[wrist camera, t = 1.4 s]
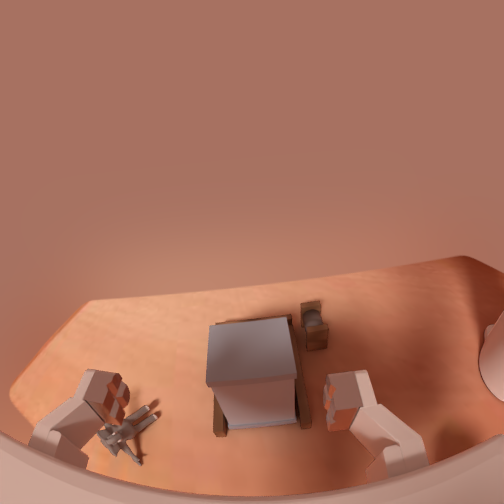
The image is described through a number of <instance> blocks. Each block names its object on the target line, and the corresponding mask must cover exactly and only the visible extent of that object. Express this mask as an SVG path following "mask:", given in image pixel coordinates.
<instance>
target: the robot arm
mask: <svg viewBox="0 0 504 504" xmlns="http://www.w3.org/2000/svg"><path fill="white" fill-rule="evenodd" d="M484 337H485V342H484V345H483V347H482V349H481V352H480V357H479V366H480V371H481V375H482V378H483V380H484V382H485V384H486V386H487V387H488V388H489V390H490V391H491V392H492V393H493V394H494V395H495V396H496V397H497V398H499V399H500V400H502V401H504V310H503V312H502V314H501V315H500V317H499V319H498V320H497V322H496V323H495V324H492V325H488V326H487V328H486V329H485V332H484ZM129 399H130V392H129V388H128V386H127V385H126V384H125V383H123V382H122V377H121V376H120V374H119V373H112V372H105V371H99V370H94V369H87V370H86V371H85V372H84V375H83V377H82V379H81V381H80V383H79V386H78V388H77V390H76V392H75V395H74V397H73V398H72V397H70V398H69V399H68V400H66V401H65V402H64V403H62V404H61V405H60V406H59V407H57V408H56V409H55V410H53V411H52V412H51V413H49V414H48V415H47V416H45V417H44V418H43V419H41V420H40V421H39V422H38V423H37V424H36V427H35V429H34V431H33V434H32V436H31V439H30V441H29V444H28V445H26V444H24V443H22V442H20V441H18V440H16V439H14V438H13V437H11V436H9V435H7V434H5V433H3V432H2V431H0V504H504V435H503V434H498V435H495V436H493V437H491V438H489V439H487V440H485V441H483V442H481V443H479V444H477V445H475V446H473V447H471V448H469V449H467V450H465V451H463V452H461V453H458V454H456V455H454V456H451V457H449V458H447V459H444V460H442V461H439V462H437V463H434V464H431V465H430V464H429V461H428V457H427V454H426V450H425V447H424V444H423V441H422V437H421V436H420V435H419V434H417V433H416V432H415V431H414V430H412V429H411V428H410V427H409V426H408V425H406V424H405V423H404V422H403V421H401V420H400V419H399V418H398V417H397V416H395V415H394V414H393V413H392V412H390V411H389V410H388V409H387V408H386V407H384V406H383V405H382V404H377V401H376V397H375V394H374V391H373V387H372V384H371V381H370V378H369V375H368V372H367V371H366V370H365V369H364V370H358V371H349V372H342V373H335V374H328V375H327V376H326V385H325V386H324V389H323V403H324V408H325V409H326V410H327V411H328V412H327V415H326V421H327V428H328V432H330V431H339V430H346V429H349V430H350V432H351V433H352V434H353V435H354V436H355V437H356V438H357V439H358V440H359V441H360V442H361V444H362V445H363V446H364V447H365V448H366V449H367V450H368V451H369V452H370V453H371V454H372V455H373V456H374V458H375V460H374V461H373V462H372V463H371V464H370V465H369V466H368V468H367V469H366V470H365V472H366V478H367V484H363V485H359V486H354V487H348V488H343V489H337V490H331V491H324V492H316V493H308V494H297V495H284V496H220V495H206V494H196V493H187V492H179V491H173V490H166V489H160V488H155V487H150V486H145V485H140V484H136V483H131V482H127V481H123V480H119V479H116V478H112V477H108V476H105V475H102V474H98V473H95V472H92V471H89V470H86V467H87V463H88V459H89V457H88V455H86V454H85V453H84V452H83V451H81V450H80V449H81V448H82V447H83V446H84V445H85V444H86V443H87V442H88V441H89V440H90V439H91V438H92V437H93V436H94V435H95V434H96V433H97V432H98V431H99V430H100V429H101V428H102V427H103V426H104V424H105V423H109V424H114V425H120V426H122V423H123V419H124V416H125V411H124V408H125V407H126V406H127V405H128V403H129Z"/></svg>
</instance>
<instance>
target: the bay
mask: <svg viewBox="0 0 504 504" xmlns="http://www.w3.org/2000/svg"><path fill="white" fill-rule="evenodd" d="M320 314H321V304H320V301H314V302H308V303H301V326H302V327H305V330H306V348H307V351H312V350H318V349H323V348H327V341H328V331H329V328H328V325H327V324H323V322H322V319H321V315H320ZM282 317H286V318H287V323H288V328H289V334H290V339H291V344H292V350H293V355H294V360H295V366H296V371H297V379H294V385H295V393H296V399H297V405H298V412H299V418H300V424H301V429H306V428H311V423H312V421H311V416H310V410H309V405H308V400H307V394H306V389H305V384H304V379H303V374H302V369H301V364H300V359H299V354H298V349H297V344H296V339H295V334H294V329H293V325H292V316H291V314H288V315H281V316H273V317H266V318H257V319H249V320H240V321H231V322H221V323H216V325H222V324H232V323H241V322H250V321H258V320H266V319H274V318H282ZM213 432H214V434H215V435H216V437H226V417H225V415H224V413H223V411H222V409H221V407H220V405H219V403H218V401H217V399H216V396H215V394H214V418H213Z"/></svg>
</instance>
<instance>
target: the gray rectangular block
mask: <svg viewBox="0 0 504 504" xmlns="http://www.w3.org/2000/svg"><path fill="white" fill-rule="evenodd" d="M294 379H297V371H296V366H295V360H294V355H293V350H292V344H291V339H290V334H289V328H288V323H287V318H286V317H282V318H274V319H266V320H258V321H250V322H241V323H232V324H222V325H211V326H210V327H209V340H208V354H207V370H206V384H207V386H208V387H211V388H212V390H213V392H214V394H215V396H216V399H217V401H218V403H219V405H220V407H221V409H222V411H223V413H224V415H225V417H226V419H227V421H228V428H229V429H243V428H256V427H266V426H275V425H283V424H291V423H296V413H295V385H294Z"/></svg>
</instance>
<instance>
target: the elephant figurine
mask: <svg viewBox="0 0 504 504" xmlns="http://www.w3.org/2000/svg"><path fill="white" fill-rule="evenodd" d="M149 410H150V409H149V407H147V405H144V406H143V407H141V408H140V409H139V410H138V411H136V412H135V413H133V414H132V415H130V416H128V417H127V418H125V419H123V423H122V426H120V425H112V424H109V423H105V424H104V426H105V428H106V429H105V430H101V431H98V432H97V435H98V436H99V438H100V439H101V442H102V444H103V445H104V446H105V447H106V448H108V449H109V450H110V452H111V453H112V454H113V455H114V456H116V457H117V453H118V452H119V450H120V449H122V450H123V451H124V452H125V453H127V454H128V455H130V456H131V457H132V459H133V461H135V462H136V463H137V464H138V465H139V466H141V463H140V462H139V461H140V459H139V458H137V457H136V456H135V455H134V454H133V453H132V451H131V449H130V448H129V447H128V445H127V444H126V440H131V439H133V438H134V437H135V436H136V434H137V433H138V432H140V431H141V430H142V429H144V428H145V427H146V426H147V425H149V424H151V423H152V422H154V421H156V420H157V416H156V415H155V414H151V415H150V416H149V417H147V418H146V419H144V420H143V421H141V422H140V423H138V424H137V425H135V426H133V425H132V423H133V422H134V421H135V420H137V419H138V418H140V417H141V416H142V415H144V414H145V413H147V412H148V411H149Z"/></svg>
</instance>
